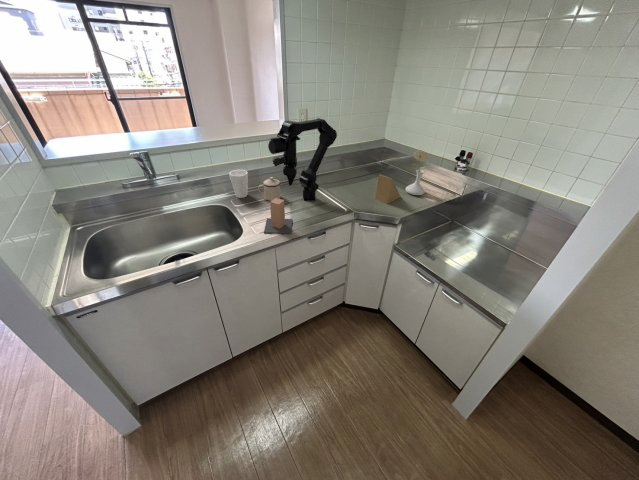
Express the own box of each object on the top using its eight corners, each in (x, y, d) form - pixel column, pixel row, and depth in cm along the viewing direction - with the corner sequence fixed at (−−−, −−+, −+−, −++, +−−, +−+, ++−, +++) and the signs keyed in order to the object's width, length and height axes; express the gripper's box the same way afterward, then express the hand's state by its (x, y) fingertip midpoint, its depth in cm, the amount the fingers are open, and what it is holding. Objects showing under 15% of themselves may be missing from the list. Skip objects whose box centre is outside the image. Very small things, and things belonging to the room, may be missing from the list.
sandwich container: (401, 196, 155) (407, 172, 146) (387, 204, 146) (392, 179, 137) (389, 192, 160) (394, 168, 151) (374, 199, 151) (379, 174, 142)
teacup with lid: (281, 194, 150) (280, 174, 143) (280, 201, 142) (279, 181, 135) (260, 193, 149) (258, 174, 142) (257, 200, 142) (255, 180, 135)
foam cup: (234, 191, 150) (231, 169, 142) (251, 191, 150) (248, 169, 143) (231, 199, 142) (227, 176, 134) (248, 199, 143) (246, 176, 135)
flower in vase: (427, 194, 159) (440, 153, 145) (415, 198, 153) (428, 156, 139) (410, 186, 168) (421, 147, 153) (398, 190, 162) (408, 149, 148)
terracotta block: (276, 221, 124) (275, 197, 116) (285, 224, 122) (284, 200, 115) (271, 226, 120) (269, 201, 113) (280, 228, 119) (278, 204, 112)
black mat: (291, 219, 127) (291, 218, 127) (290, 233, 117) (290, 232, 117) (266, 219, 126) (266, 218, 126) (263, 233, 116) (263, 232, 116)
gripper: (274, 144, 130) (276, 174, 139) (271, 156, 115) (273, 188, 124) (297, 145, 131) (297, 174, 140) (296, 156, 116) (296, 189, 125)
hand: (290, 181), depth 132 cm, fingers open, 9 cm apart
